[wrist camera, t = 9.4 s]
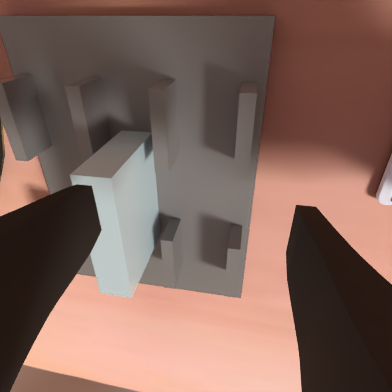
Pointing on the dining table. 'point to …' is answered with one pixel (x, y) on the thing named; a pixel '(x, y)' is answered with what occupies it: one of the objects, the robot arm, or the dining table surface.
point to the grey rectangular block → (123, 209)
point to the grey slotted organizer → (151, 122)
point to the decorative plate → (1, 147)
